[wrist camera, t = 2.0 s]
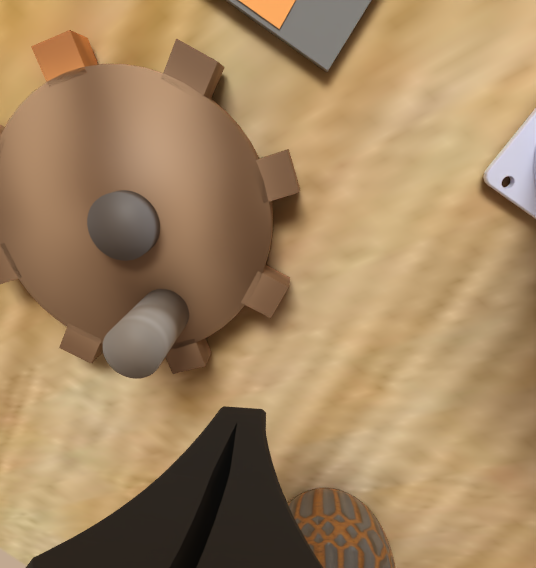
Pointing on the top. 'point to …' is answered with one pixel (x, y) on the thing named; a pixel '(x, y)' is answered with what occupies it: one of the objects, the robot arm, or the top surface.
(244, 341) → the top surface
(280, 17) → the mat
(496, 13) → the top surface
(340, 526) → the vase
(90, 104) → the sprocket wheel
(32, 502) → the top surface
